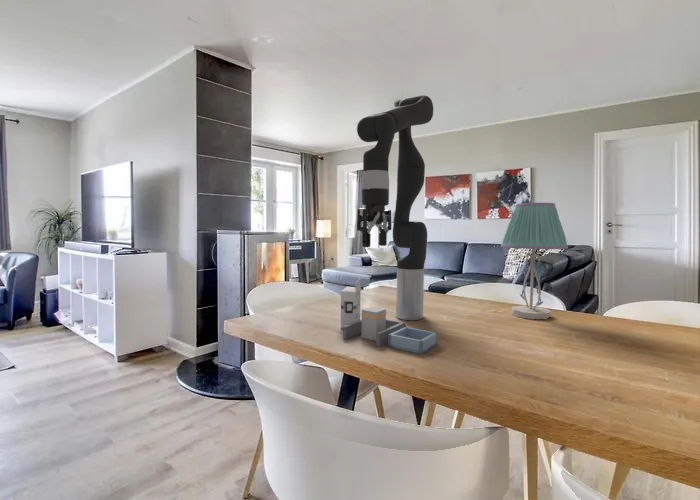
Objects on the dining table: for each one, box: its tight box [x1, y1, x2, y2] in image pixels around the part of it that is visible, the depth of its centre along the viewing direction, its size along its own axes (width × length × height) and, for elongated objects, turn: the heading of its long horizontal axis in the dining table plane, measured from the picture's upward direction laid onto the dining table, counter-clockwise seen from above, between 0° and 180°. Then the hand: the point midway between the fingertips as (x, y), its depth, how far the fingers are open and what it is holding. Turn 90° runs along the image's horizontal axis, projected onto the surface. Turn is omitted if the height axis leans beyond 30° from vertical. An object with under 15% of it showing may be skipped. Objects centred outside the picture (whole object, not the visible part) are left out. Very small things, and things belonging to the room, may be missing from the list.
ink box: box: [340, 278, 362, 329], centre depth 119 cm, size 9×5×15 cm, turn 168°
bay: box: [342, 318, 407, 348], centre depth 108 cm, size 14×12×4 cm
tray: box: [387, 326, 438, 355], centre depth 100 cm, size 10×10×3 cm
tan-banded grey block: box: [360, 306, 387, 342], centre depth 107 cm, size 5×5×8 cm
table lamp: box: [500, 202, 569, 320], centre depth 134 cm, size 22×22×40 cm
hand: (374, 246), depth 106 cm, fingers open, 8 cm apart
